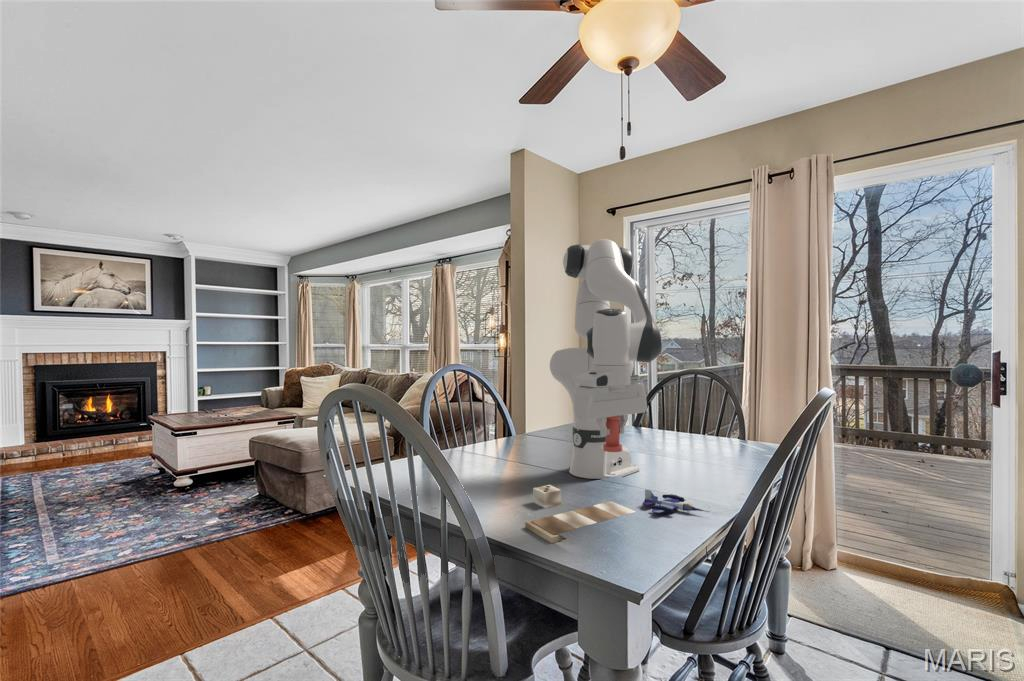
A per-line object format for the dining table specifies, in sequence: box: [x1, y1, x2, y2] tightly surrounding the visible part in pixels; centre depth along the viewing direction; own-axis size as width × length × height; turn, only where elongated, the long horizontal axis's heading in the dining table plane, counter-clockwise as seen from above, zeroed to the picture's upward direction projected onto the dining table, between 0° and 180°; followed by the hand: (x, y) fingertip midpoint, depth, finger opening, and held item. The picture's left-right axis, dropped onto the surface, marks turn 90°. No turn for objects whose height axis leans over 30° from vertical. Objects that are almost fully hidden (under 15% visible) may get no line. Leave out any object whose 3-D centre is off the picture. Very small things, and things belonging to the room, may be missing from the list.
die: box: [532, 484, 562, 509], centre depth 120 cm, size 5×5×5 cm
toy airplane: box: [641, 489, 714, 515], centre depth 114 cm, size 13×14×4 cm
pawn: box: [603, 415, 622, 452], centre depth 115 cm, size 4×4×10 cm
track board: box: [524, 500, 637, 544], centre depth 111 cm, size 26×10×1 cm, turn 121°
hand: (612, 434), depth 115 cm, fingers closed on pawn, 3 cm apart
